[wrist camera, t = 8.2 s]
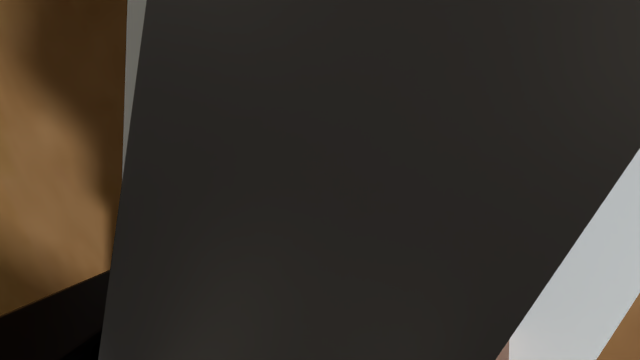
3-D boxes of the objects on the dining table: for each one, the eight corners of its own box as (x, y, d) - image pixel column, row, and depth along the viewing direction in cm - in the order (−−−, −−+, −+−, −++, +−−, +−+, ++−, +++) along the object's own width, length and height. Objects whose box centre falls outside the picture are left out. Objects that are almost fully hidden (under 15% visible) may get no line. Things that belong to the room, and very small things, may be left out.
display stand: (497, 467, 18) (491, 629, 15) (141, 330, 20) (53, 443, 16) (1041, -427, 8) (1527, -682, 4) (195, -559, 10) (-19, -823, 6)
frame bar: (300, 520, 13) (222, 758, 10) (174, 460, 13) (56, 669, 10) (714, -256, 5) (1030, -425, 2) (402, -356, 6) (235, -646, 2)
